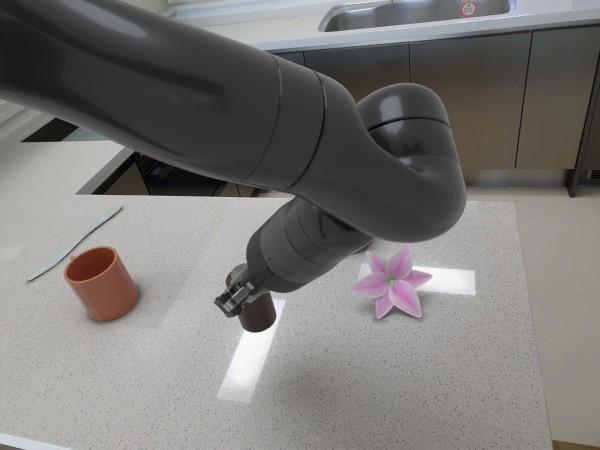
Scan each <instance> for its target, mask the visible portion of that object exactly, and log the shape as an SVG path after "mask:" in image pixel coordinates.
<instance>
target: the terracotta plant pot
mask: <svg viewBox="0 0 600 450" xmlns="http://www.w3.org/2000/svg"><path fill="white" fill-rule="evenodd" d="M63 277H64V281H65V282H66V283H67V285H68V286H69V288H70V289H71V291H72V292H73V294H74V295H75V296H76V298H77V299H78V301H79V302H80V304H81V305H82V306H83V308H84V310H85V311H86V313H87V314H88V316H90V317H91V319H93V320H95V321H97V322H109V321H112V320H116V319H118V318H119V317H120V318H121V317H122V316H123V315H125V314H127V313H128V312H129V311H130V310H132V309H133V307H134V306H135V305H136V303H137V302H138V299H139V294H140V293H139V289H138V287H137V284H136V283H135V282H134V279H133V278H132V276H131V274H130V273H129V271H128V269H127V267H126V265H125V263H124V262H123V260H122V258H121V257H120V255H119V252H118V251H117V250H116V248H114V247H112V246H109V245H99V246H96V247H91V248H88V249H86V250H85V251H82V252H81V253H79V254H77V255H71V256H70V257H69V262H68V264H66V266H65V268H64V271H63Z"/></svg>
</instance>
